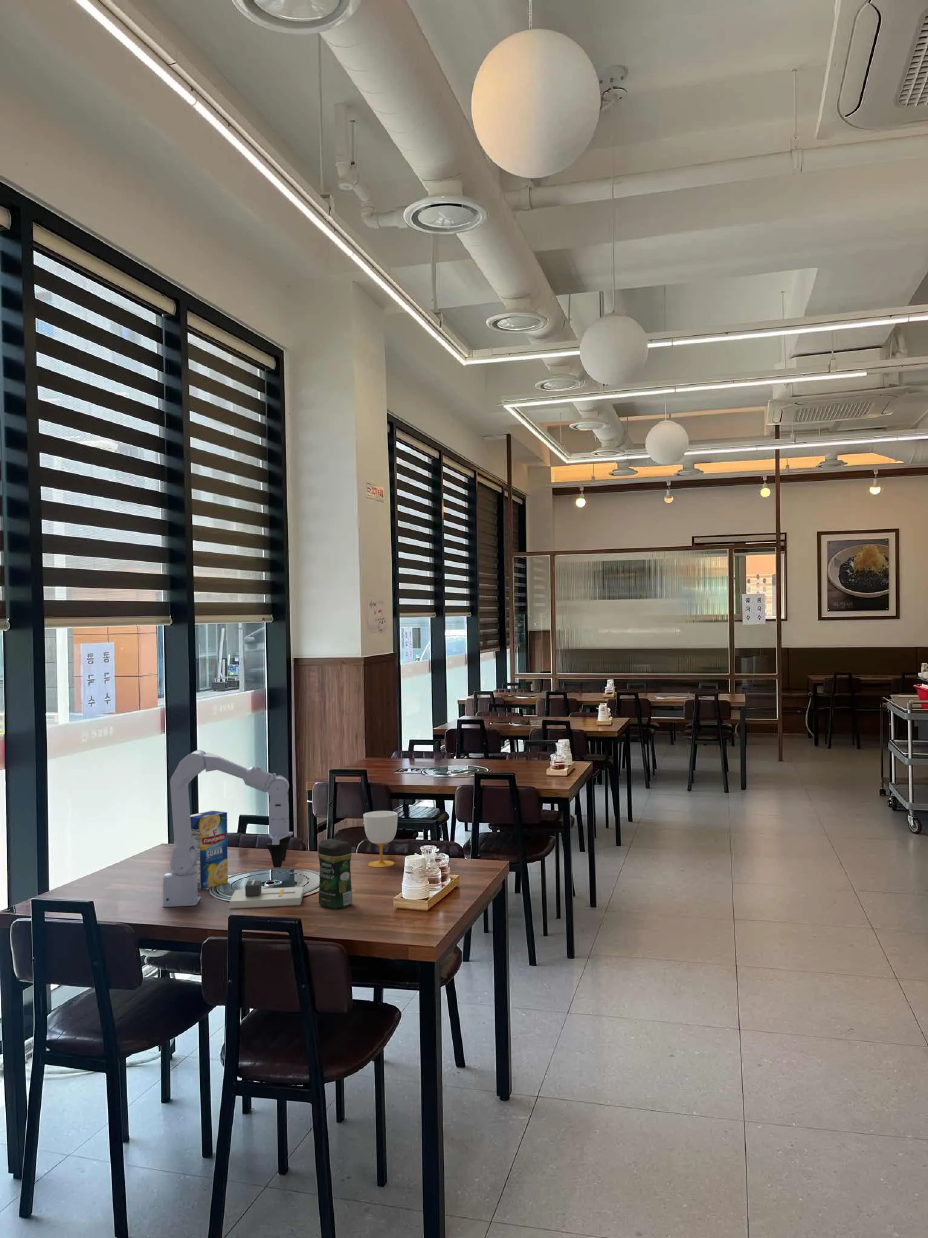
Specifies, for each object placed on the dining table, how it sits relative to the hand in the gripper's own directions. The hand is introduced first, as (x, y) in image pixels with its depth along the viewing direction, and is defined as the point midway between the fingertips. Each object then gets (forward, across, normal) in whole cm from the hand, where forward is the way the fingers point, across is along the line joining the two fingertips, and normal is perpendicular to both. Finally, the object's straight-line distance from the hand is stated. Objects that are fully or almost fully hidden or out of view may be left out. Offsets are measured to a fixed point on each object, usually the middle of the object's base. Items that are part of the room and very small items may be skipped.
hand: (279, 864), depth 266 cm
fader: (+8, -2, +7) cm, 11 cm away
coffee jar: (+10, -9, -17) cm, 22 cm away
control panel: (+10, -2, +3) cm, 11 cm away
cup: (+10, +38, -29) cm, 48 cm away
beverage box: (+10, +19, +25) cm, 33 cm away
